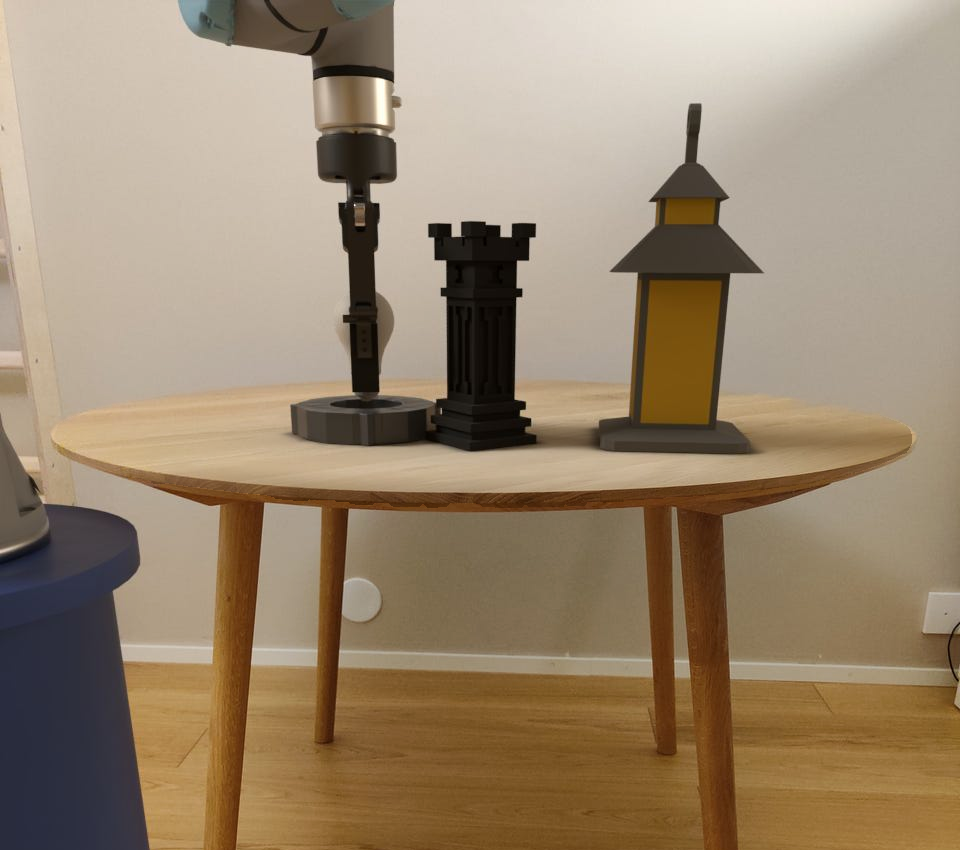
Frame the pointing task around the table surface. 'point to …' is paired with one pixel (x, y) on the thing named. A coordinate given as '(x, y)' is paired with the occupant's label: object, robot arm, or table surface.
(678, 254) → the lantern
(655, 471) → the table surface
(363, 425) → the hole plate
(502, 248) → the chess piece
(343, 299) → the lightbulb
